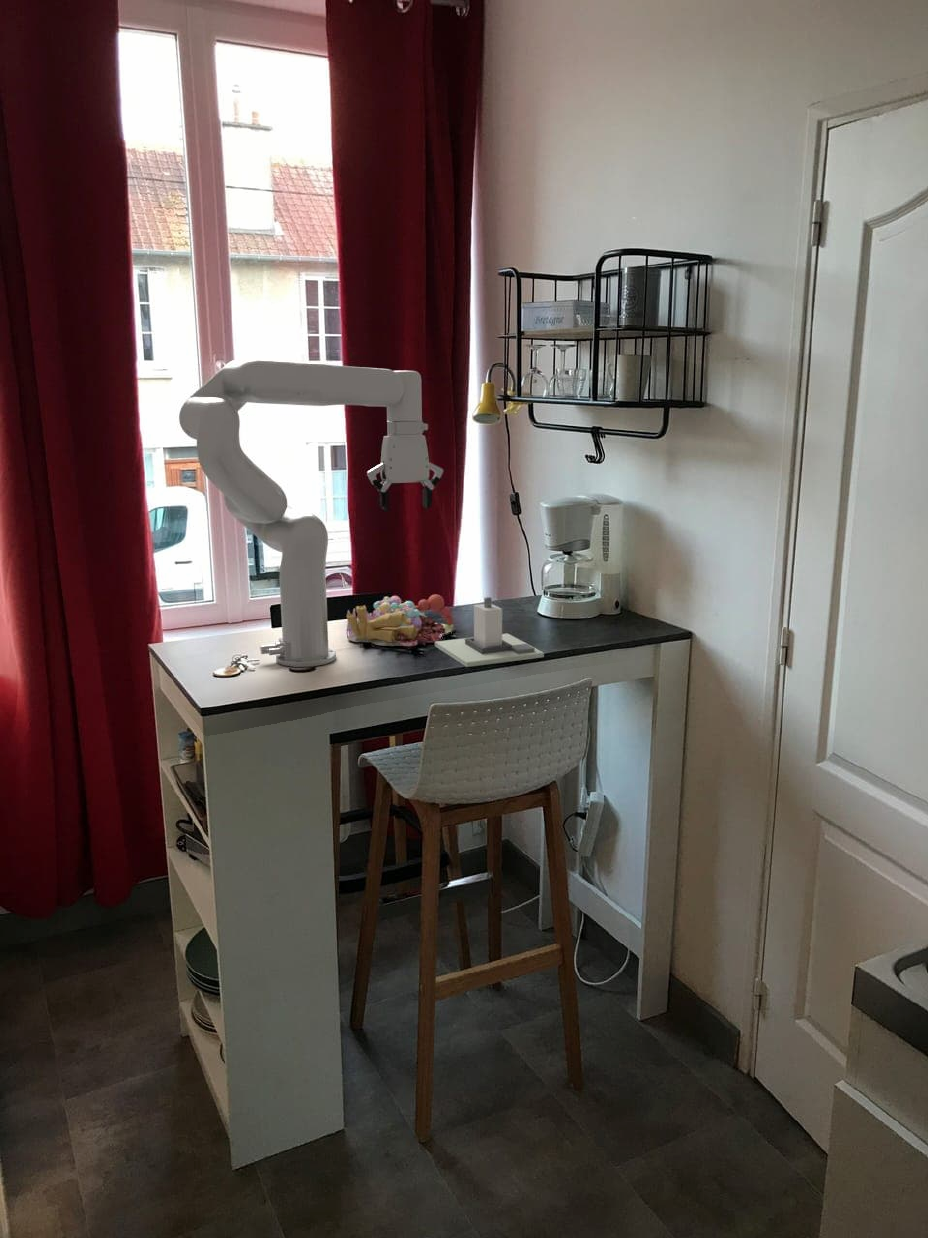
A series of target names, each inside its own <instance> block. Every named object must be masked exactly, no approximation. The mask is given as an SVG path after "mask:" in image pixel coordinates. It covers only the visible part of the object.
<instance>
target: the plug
mask: <svg viewBox="0 0 928 1238" xmlns="http://www.w3.org/2000/svg"><path fill="white" fill-rule="evenodd" d="M492 600H493V599H492V597H490V596H487V597H486V596H485V597H484V598H483V603H482V604H480V603H479V604H473V637H474V642H475V643H477V644H479V645H481V646H482V647H491V646H499V645H502V634H503V608H501V607H499V606H498V605H495V604H492Z"/></svg>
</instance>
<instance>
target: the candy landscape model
mask: <svg viewBox="0 0 928 1238" xmlns="http://www.w3.org/2000/svg"><path fill="white" fill-rule="evenodd" d="M373 608H374V610H373V611H372V612H369V611H368V610H367V607H366V605H360V606H359V605H357V606H355V608H353V610H352V613H351V611H350V609H348V610H347V611H346V612H347V613H346V616H345V617H346V619H347V622H346V623H347V624H346V637H347V639H348V641H352V642H355V643H360V642H361V643H371V644H374V645H376V646H383V647H384V646H390V647H394V646H395V647H397V646H398V647H399V646H403V647H413V646H418V645H422V646H423V647H424V646H426V645H427V643H434V644H435V642H437V641H442V639H441V637H442V635H441V634H444V633H448V632H451V631H452V630H453V631H454V627H455V626H454V624H453V623H454V619H455V618H454V617H453V616H451V614H452V612H451V609H450V607H448V606H445V599H444V597H443V596H442V595H440V594H432V595H430V596H429V598H428V599H426V598H425V599H424V598H423V599H420V600H419V601H418V603H417V605H415V603H414V602H413V601H411V600H405V602H404V601H403V600H402V599H401V598H400V597H399V596H398V595H392V596H391V597H389V596H383V599H382V600H378V601H376V602H374V603H373ZM428 609H429V610H430V611H432V612H435V613H436V612H439V615H440V617H442V618H446V619H445V623H446V624H445V623H440V622H436V620H434V619H431V618H430V617H428V615H427V616H426V613H424V612H421V611H427V610H428ZM356 613H357V614H356ZM356 615H357V616H356ZM453 631H452V632H453ZM452 632H451V633H452ZM442 638H443V637H442Z"/></svg>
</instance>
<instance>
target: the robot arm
mask: <svg viewBox="0 0 928 1238" xmlns="http://www.w3.org/2000/svg"><path fill="white" fill-rule="evenodd" d="M422 401H423V399H422V377H421V374H420V372H418V371H416V370H392V369H389V368H379V367H378V368H377V367H363V366H361V367H360V366H349V365H338V364H337V365H336V364H332V363H322V362H313V361H311V362H310V361H298V360H295V361H294V360H283V359H271V358H270V359H267V358H254V357H252V358H251V357H250V358H241V359H239V358H237V359H234V360H231V361H229V362H228V363H227V364H226V365H224V366H223V367H222V368H221V369H219V370H218V371H217V372H216V373H215V374H213V376H211V377H210V379H209V380H207V381H206V382H205V383H204V384H203V385H202V386H200V388H198V389H197V390H196V391H195V392H194V393H193V394H191V395H190V396H189V398H188V399H187V400H185V401H184V403H183V404H182V406H181V408H180V411H179V415H178V421H179V425H180V427H181V430H182V431H183V432H184V434H186V436H187V437H189V438H191V439H193V440H196V452H197V453H196V454H197V458H198V462H199V465H200V468H201V470H202V472H203V473H204V475H205V476H206V478H207V479H208V480H209V481H210V482H211V483H212V484H213V485H214V486H215V487H216V488H217V489H219V491H220V492H221V493H222V494H223V499H224V503H225V506H226V509H227V510H228V512H229V513H230V514H231V516H232V517H233V518H234V519H236V520H237V521H238V522H239V523H240V524H241V525H243V526H244V527H245V528H246V529H247V530H249V532H251V533H252V534H253V535H255V537H257V538H258V539H259V540H260V541H261V542H263V544H265V545H266V546H267V547H269V548H270V549H272V550H274V551H276V552H280V553H282V555H281V563H280V568H279V596H280V611H281V612H280V614H281V634H282V637H279V638H278V641H277V642H274V643H273V644H269V643H268V644H262V645H260V646H259V647H260V648H259V650H260V653H261V655H267V654H268V656H274V655H275V657H276V659H275V660H276V662H277V663H278V664H280V665H282V666H286V667H291V668H293V667H294V668H308V667H309V668H312V667H319V666H323V665H327V664H329V663H333V662H334V661H335V660H336V658H337V653H336V651H335V650H334V649H332V648H329V630H328V629H329V627H328V604H327V603H328V602H327V601H328V599H327V585H326V583H327V581H326V561H327V553H328V552H327V551H328V545H329V534H328V530H327V528H326V525H325V523H324V522H323V521H322V520H321V519H320V518H319V517H318V516H317V515H315V514H314V513H310V512H308V511H304V510H300V509H294V508H291V507H290V506H289V505H288V499H287V495H286V493H285V491H284V490H283V488H282V487H281V486H280V485H279V483H277V482H276V481H275V480H273V479H272V478H271V477H270V476H269V475H267V474H266V473H265V471H263V470H262V469H261V468H260V467H259V466H258V465H256V463H254V462H253V460H251V458H250V457H249V456H247V454H245V452H244V450H243V449H242V447H241V444H240V436H239V434H240V427H241V426H240V422H241V421H240V416H239V411H240V410H241V409H242V408H243V407H244V406H245V405H246V403H253V404H272V405H273V404H274V405H288V406H289V405H291V406H292V405H293V406H310V407H311V406H313V407H324V406H325V407H327V406H345V405H346V406H365V407H382V408H383V407H384V408H386V424H387V425H386V426H387V431H386V433H387V435H384V436H383V439H382V443H381V451H380V453H381V456H380V464H377V465H376V466H375V467H373V468H371V469H370V470H368V471H366V476H367V477H368V480H369V481H370V483H371V485H373V487H374V488H375V489H377V491H378V493H379V496H378V497H379V506H380V507H381V510H382V511H385V512H386V511H389V510H390V494H389V492H388V491H387V490H388V489H389V487H390V486H391V485H392V484H400V483H401V484H402V483H403V484H404V483H405V484H406V483H421V484H422V486H423V487H424V488H423V489H422V507H424V508H426V509H431V506H432V504H433V490H434V489H435V487H436V486H437V484H439V482H440V478H442V475H443V473H444V469H443V468H441V467H440V466H438V465H436V464H434V463H432V462H430V458H429V451H428V450H429V449H428V445H427V439H426V435H423V434H424V431H428V429H429V424H428V423H424V421H423V417H422V416H423V413H422V412H423V411H422V410H423V408H422V406H423V405H422V404H423V402H422ZM430 470H431V471H433V472H434V473H433V476H432V477H431V478H430ZM379 473H380V478H381V482H380V481H379V480H378V479H377V474H379ZM429 478H430V479H429Z"/></svg>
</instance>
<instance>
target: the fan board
mask: <svg viewBox="0 0 928 1238" xmlns="http://www.w3.org/2000/svg"><path fill="white" fill-rule="evenodd" d="M434 647H435V648H437V649H438V650H440V651H442V652H443V653H445V654H446V655H448V656H449V657H451V658H452V659H454V660H456V661H457V662H458V663H460V664H461V665H463V666H464V667H465V668H469V667H479V666H485V665H492V664H493V665H494V664H502V663H508V662H515V661H523V660H524V661H525V660H533V659H541V658H542V659H543V658H545V652H543V651H541V650H539V649H538V648H536V647H534V646H532V645H530V644H529V643H527V642H525V641H523V640H521V639H519V638H518V637H515V636H513V635H512V634H509V633H502V645H499V646H491V647H482V646H481V645H479V644H477V643H475V642H474V636H473V637H465V638H455V639H447V640H440V641H437V642H435V643H434Z"/></svg>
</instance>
